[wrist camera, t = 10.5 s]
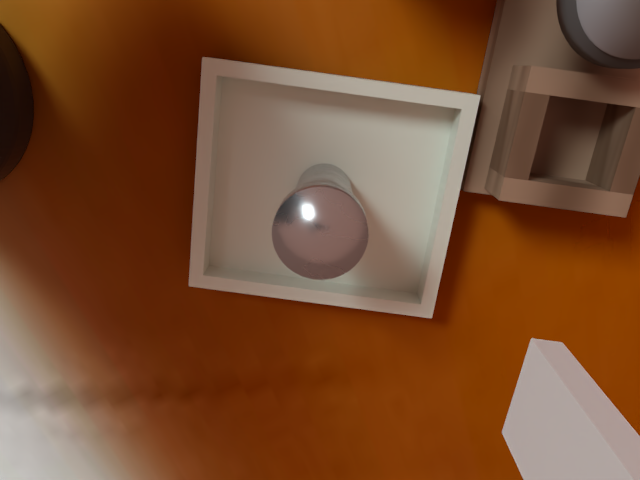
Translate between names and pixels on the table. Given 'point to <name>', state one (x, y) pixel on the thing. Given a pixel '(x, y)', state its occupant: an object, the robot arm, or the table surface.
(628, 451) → the robot arm
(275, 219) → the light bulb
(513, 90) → the block
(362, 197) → the tray
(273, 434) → the table surface
